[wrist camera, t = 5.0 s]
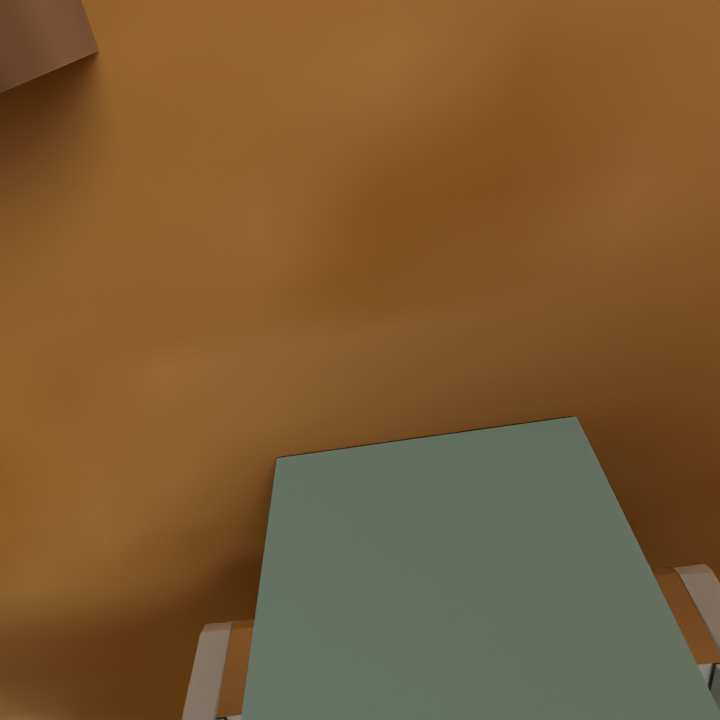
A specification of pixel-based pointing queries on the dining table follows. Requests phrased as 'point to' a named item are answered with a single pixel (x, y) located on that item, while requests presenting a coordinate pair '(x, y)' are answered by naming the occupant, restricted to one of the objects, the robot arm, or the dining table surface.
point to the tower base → (41, 38)
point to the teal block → (462, 588)
